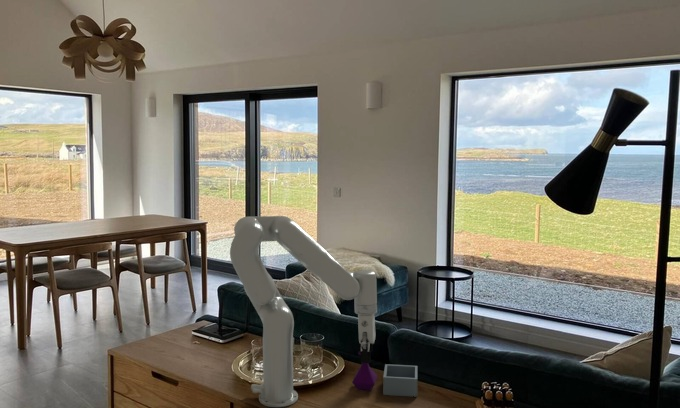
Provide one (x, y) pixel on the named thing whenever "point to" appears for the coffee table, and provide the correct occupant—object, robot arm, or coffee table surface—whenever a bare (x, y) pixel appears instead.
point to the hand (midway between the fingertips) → (366, 357)
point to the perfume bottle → (364, 377)
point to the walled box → (400, 380)
